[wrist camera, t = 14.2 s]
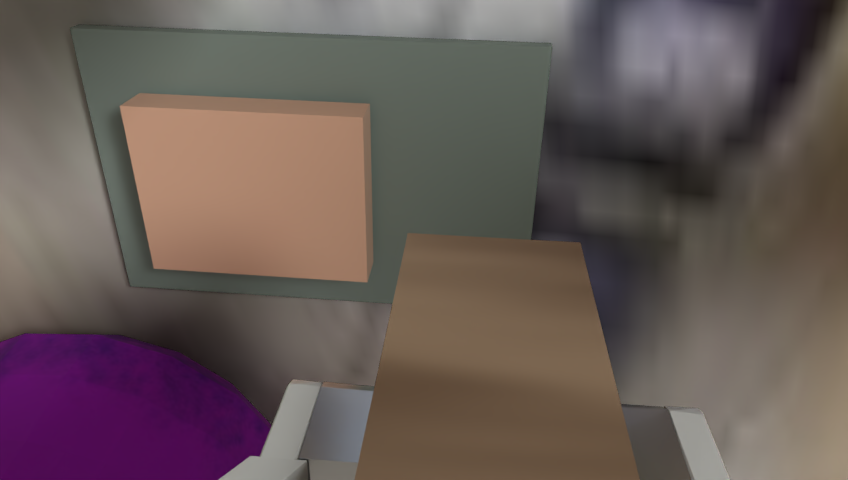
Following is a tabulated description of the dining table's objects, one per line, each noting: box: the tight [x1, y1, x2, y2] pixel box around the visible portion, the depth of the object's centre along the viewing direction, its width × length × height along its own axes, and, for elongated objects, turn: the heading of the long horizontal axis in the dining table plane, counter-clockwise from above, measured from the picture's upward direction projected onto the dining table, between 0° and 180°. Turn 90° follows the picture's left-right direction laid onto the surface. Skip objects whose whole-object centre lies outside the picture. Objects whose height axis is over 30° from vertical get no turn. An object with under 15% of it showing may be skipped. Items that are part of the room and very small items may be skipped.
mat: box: [70, 25, 552, 304], centre depth 28 cm, size 18×12×1 cm, turn 89°
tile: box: [120, 93, 373, 282], centre depth 27 cm, size 2×7×9 cm
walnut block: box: [355, 233, 640, 480], centre depth 10 cm, size 3×3×8 cm
